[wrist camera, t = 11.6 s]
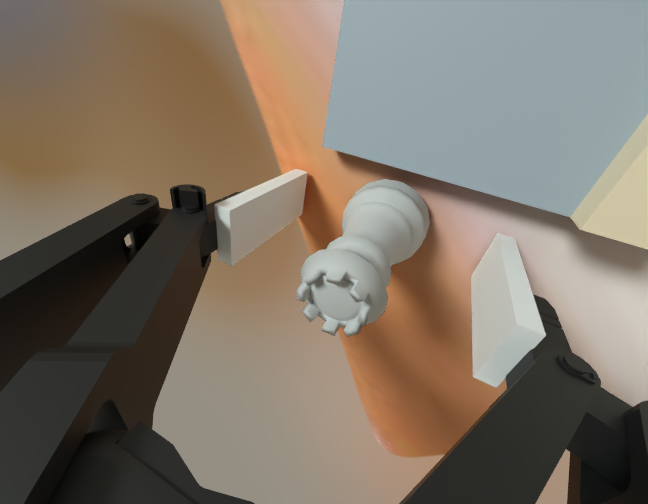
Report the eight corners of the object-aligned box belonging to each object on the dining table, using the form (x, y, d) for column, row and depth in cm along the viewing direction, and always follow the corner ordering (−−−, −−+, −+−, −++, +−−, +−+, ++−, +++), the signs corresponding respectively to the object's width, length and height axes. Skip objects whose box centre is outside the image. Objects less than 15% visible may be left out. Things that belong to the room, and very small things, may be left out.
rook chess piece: (409, 265, 16) (370, 378, 10) (340, 233, 17) (265, 317, 11) (447, 196, 13) (428, 289, 7) (364, 163, 14) (281, 221, 8)
